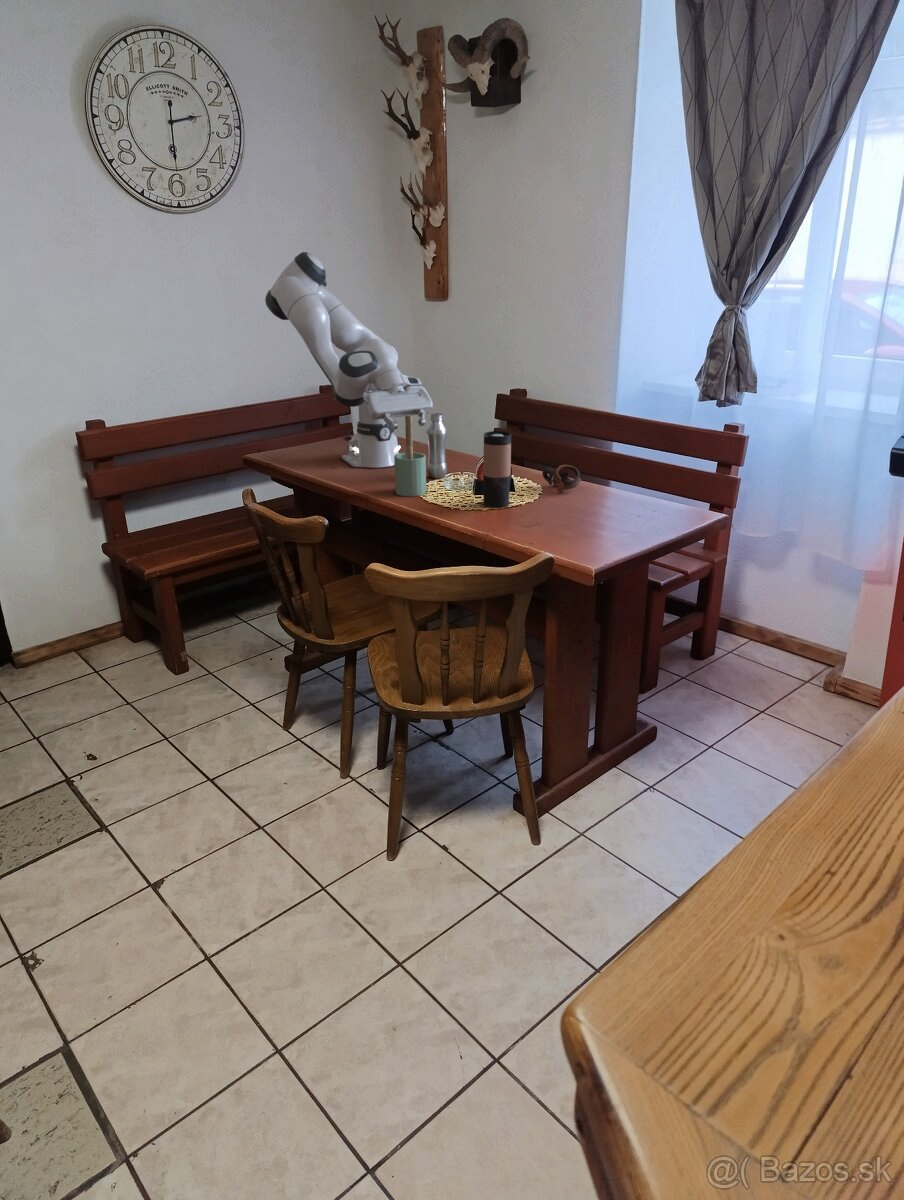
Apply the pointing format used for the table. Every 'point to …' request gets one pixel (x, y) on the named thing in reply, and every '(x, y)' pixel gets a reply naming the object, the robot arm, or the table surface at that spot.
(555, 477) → the dark looped ring
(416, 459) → the cup
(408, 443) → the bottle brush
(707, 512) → the table surface
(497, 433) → the travel mug
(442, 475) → the silver metal bottle
